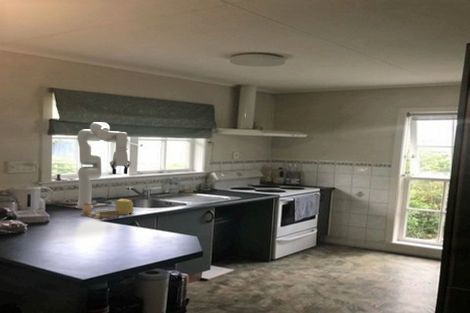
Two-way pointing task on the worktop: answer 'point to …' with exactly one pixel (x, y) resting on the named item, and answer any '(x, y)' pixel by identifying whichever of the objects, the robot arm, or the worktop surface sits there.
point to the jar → (87, 208)
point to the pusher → (101, 211)
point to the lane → (104, 214)
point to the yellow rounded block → (124, 206)
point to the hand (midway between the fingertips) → (119, 174)
